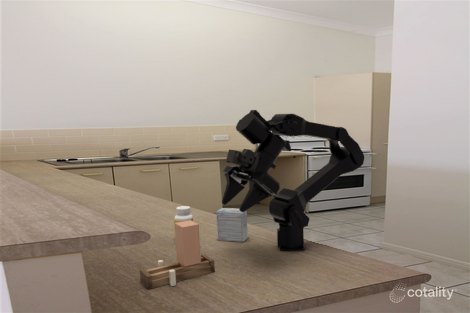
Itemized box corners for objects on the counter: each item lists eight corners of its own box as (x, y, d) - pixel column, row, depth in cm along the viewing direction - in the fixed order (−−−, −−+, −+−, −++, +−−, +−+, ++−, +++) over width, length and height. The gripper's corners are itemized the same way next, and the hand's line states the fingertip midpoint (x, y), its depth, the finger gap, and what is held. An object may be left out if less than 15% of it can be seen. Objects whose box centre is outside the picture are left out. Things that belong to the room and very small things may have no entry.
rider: (192, 261, 97) (190, 220, 96) (201, 267, 93) (198, 224, 92) (177, 265, 95) (174, 223, 94) (184, 271, 91) (182, 227, 90)
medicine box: (248, 237, 119) (247, 208, 118) (243, 242, 115) (242, 212, 114) (222, 236, 121) (221, 207, 120) (217, 240, 117) (216, 211, 116)
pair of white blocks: (162, 273, 95) (161, 259, 95) (176, 285, 88) (175, 270, 88) (158, 274, 94) (157, 260, 94) (171, 286, 88) (170, 271, 87)
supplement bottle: (190, 243, 115) (189, 209, 114) (172, 243, 116) (170, 209, 115) (196, 237, 121) (194, 205, 120) (179, 237, 122) (177, 205, 121)
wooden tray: (204, 264, 99) (204, 253, 99) (215, 272, 94) (214, 260, 94) (140, 281, 91) (139, 269, 91) (148, 289, 86) (147, 277, 86)
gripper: (226, 134, 108) (192, 183, 104) (263, 137, 91) (225, 196, 88) (254, 159, 112) (223, 206, 109) (295, 166, 96) (260, 222, 93)
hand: (231, 207), depth 100 cm, fingers open, 9 cm apart
